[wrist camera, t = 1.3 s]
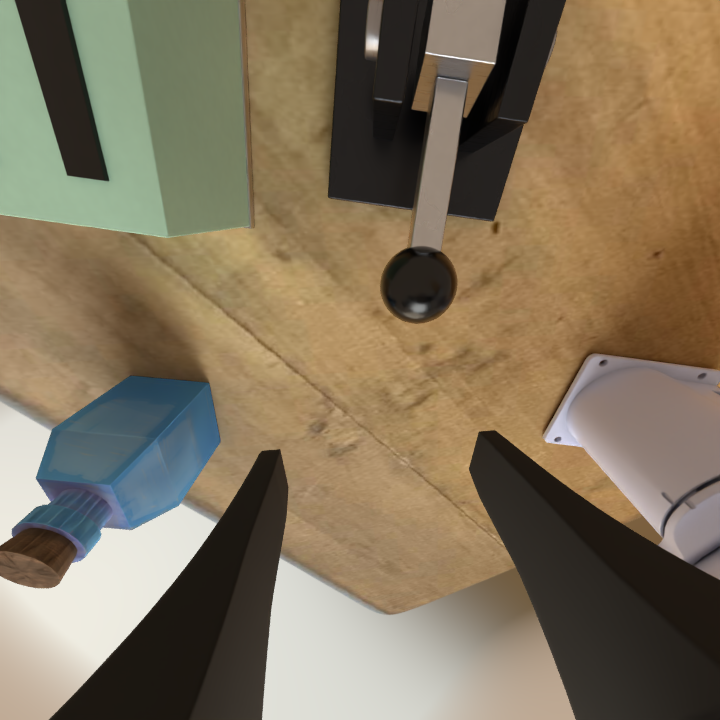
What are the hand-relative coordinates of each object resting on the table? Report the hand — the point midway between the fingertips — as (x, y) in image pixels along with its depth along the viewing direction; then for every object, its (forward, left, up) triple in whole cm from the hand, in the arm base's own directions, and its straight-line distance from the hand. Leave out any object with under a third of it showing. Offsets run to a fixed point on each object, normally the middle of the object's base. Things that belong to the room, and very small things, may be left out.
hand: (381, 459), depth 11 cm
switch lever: (-1, -9, -6) cm, 11 cm away
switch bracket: (-1, -13, -11) cm, 17 cm away
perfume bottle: (+15, +9, -11) cm, 21 cm away
